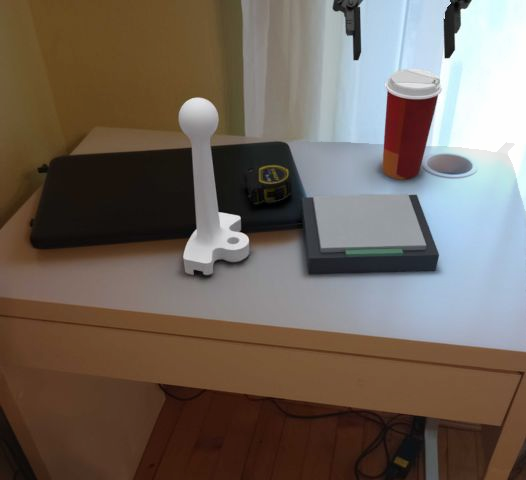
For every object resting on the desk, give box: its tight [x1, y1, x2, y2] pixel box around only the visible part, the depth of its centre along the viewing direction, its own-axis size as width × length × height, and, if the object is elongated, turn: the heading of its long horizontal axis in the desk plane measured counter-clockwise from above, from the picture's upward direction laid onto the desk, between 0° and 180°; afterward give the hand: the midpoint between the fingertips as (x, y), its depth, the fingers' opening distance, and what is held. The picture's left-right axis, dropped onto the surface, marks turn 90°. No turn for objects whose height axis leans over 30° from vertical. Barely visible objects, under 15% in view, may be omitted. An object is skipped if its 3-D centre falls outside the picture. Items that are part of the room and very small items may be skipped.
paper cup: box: [382, 68, 443, 180], centre depth 92 cm, size 8×8×14 cm
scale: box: [300, 193, 440, 275], centre depth 83 cm, size 16×14×3 cm
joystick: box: [178, 97, 250, 276], centre depth 75 cm, size 11×8×20 cm
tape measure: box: [242, 163, 294, 206], centre depth 91 cm, size 7×7×4 cm
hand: (403, 55), depth 93 cm, fingers open, 13 cm apart
